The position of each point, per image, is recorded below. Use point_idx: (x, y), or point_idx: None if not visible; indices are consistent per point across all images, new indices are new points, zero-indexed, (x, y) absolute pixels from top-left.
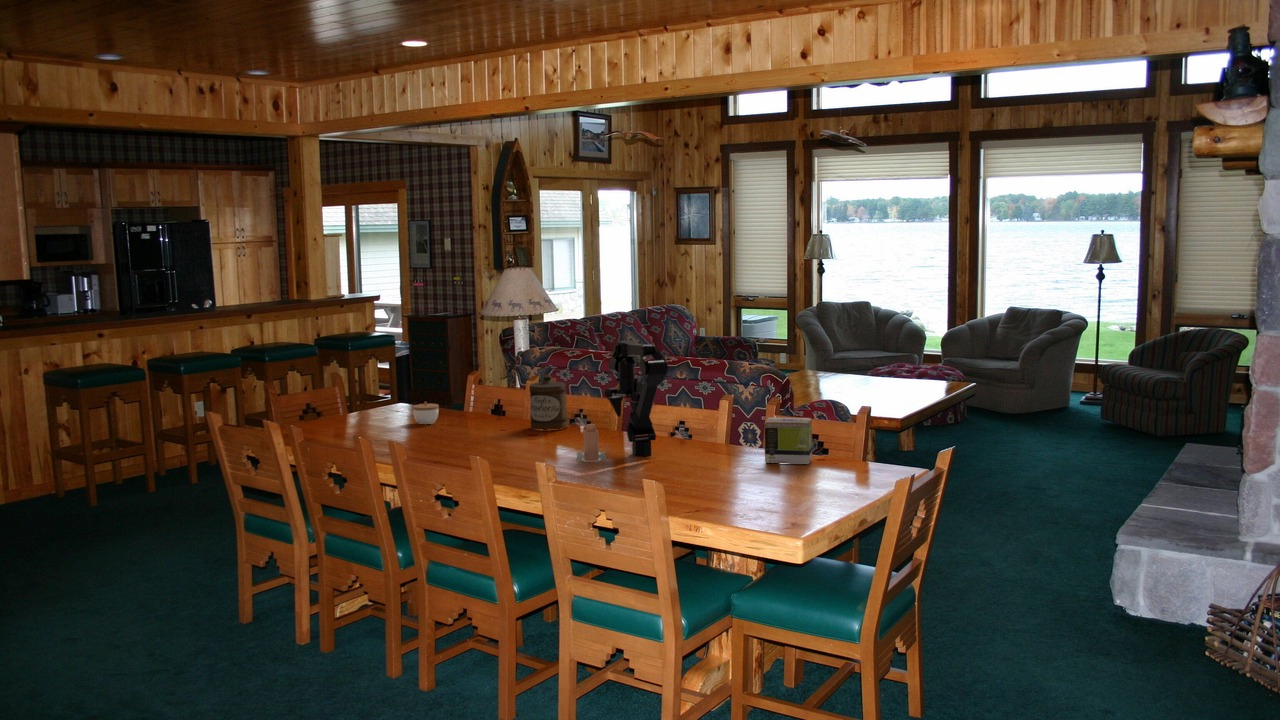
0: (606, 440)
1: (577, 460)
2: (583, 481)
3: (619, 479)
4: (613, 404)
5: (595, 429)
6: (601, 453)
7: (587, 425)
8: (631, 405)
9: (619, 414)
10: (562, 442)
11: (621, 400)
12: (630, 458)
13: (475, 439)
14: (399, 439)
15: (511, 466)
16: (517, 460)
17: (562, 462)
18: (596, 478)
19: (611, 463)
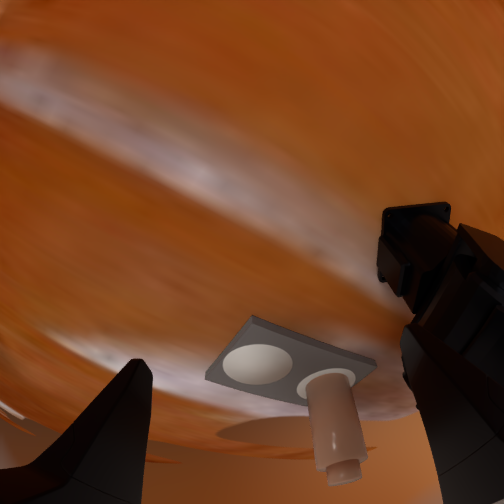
0: (14, 186)
1: (307, 405)
2: None
3: None
4: (137, 498)
5: (356, 462)
6: (277, 345)
7: (342, 484)
8: (445, 487)
9: (142, 384)
10: (24, 313)
11: (58, 494)
12: None
13: (7, 382)
14: (15, 413)
15: (236, 449)
16: (192, 437)
17: (269, 412)
18: None
19: (381, 347)
